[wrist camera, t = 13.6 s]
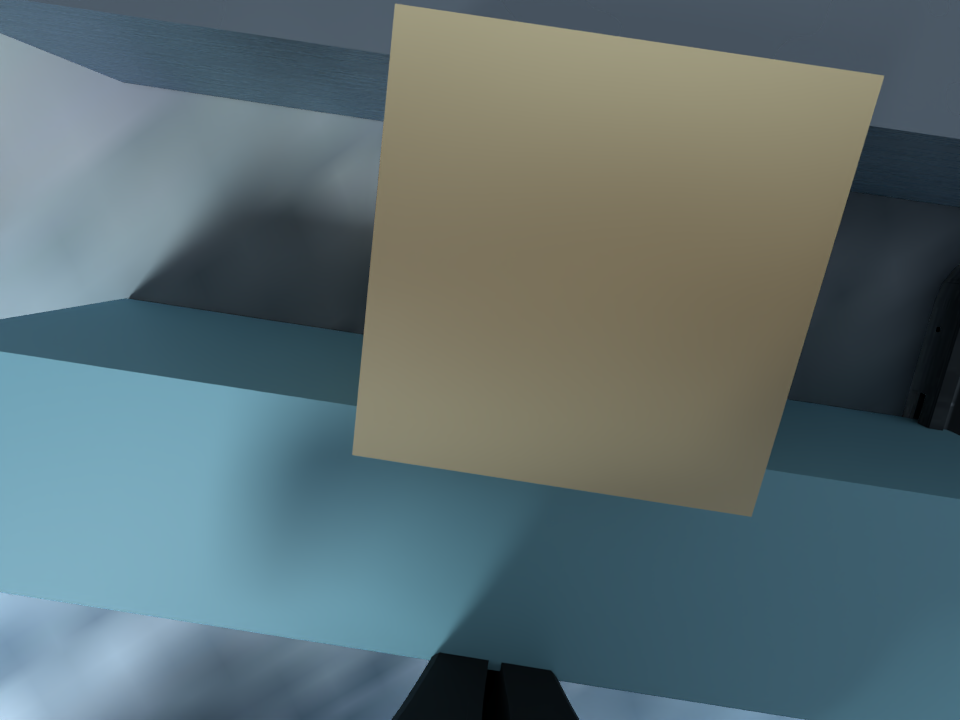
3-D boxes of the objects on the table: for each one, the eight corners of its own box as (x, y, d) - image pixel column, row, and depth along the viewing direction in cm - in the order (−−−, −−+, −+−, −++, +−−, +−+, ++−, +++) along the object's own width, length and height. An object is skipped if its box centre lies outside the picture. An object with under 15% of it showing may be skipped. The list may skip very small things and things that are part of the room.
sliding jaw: (867, 576, 12) (1063, 760, 8) (128, 461, 13) (-70, 581, 8) (925, 420, 12) (1182, 533, 7) (126, 298, 12) (-100, 335, 7)
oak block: (626, 375, 12) (750, 516, 6) (427, 345, 12) (352, 454, 6) (673, 163, 11) (884, 75, 5) (454, 130, 11) (394, 3, 5)
